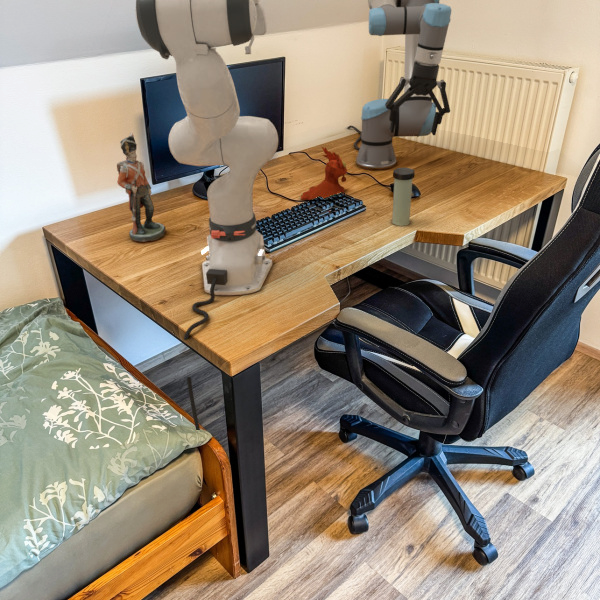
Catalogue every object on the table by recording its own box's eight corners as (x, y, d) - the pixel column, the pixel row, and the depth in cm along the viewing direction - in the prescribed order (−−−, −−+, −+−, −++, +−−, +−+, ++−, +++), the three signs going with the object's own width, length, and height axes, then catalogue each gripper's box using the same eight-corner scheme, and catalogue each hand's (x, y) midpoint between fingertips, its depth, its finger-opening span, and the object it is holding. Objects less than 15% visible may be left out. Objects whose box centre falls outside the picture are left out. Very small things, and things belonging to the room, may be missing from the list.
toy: (355, 194, 190) (356, 151, 182) (309, 205, 184) (308, 160, 176) (337, 183, 200) (337, 141, 192) (293, 193, 193) (291, 150, 186)
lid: (416, 179, 160) (416, 174, 159) (394, 180, 160) (394, 175, 159) (412, 172, 165) (412, 167, 165) (391, 173, 165) (391, 167, 165)
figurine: (157, 243, 164) (137, 141, 148) (123, 241, 166) (100, 140, 150) (171, 228, 173) (154, 130, 157) (139, 226, 175) (119, 129, 159)
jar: (410, 225, 168) (414, 175, 160) (393, 226, 168) (396, 175, 160) (407, 218, 173) (411, 169, 164) (390, 219, 173) (393, 169, 164)
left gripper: (182, -1, 142) (190, 58, 149) (263, -5, 141) (267, 55, 149) (187, -3, 147) (194, 54, 154) (265, -6, 147) (268, 51, 154)
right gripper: (388, 63, 162) (375, 134, 175) (471, 69, 165) (453, 139, 178) (383, 56, 168) (372, 125, 181) (464, 62, 171) (447, 130, 184)
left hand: (231, 54), depth 151 cm, fingers open, 8 cm apart
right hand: (412, 132), depth 179 cm, fingers open, 13 cm apart
